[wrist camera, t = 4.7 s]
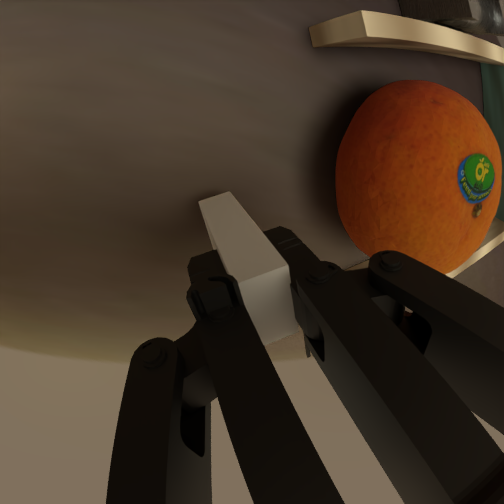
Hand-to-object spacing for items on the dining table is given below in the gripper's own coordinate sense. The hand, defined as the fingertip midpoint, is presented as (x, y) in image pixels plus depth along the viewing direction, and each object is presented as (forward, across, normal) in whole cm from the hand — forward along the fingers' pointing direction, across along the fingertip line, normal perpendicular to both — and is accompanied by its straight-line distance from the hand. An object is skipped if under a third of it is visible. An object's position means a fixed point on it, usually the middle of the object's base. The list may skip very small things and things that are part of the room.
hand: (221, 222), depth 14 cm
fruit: (+2, +10, 0) cm, 11 cm away
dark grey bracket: (+2, +18, +11) cm, 21 cm away
